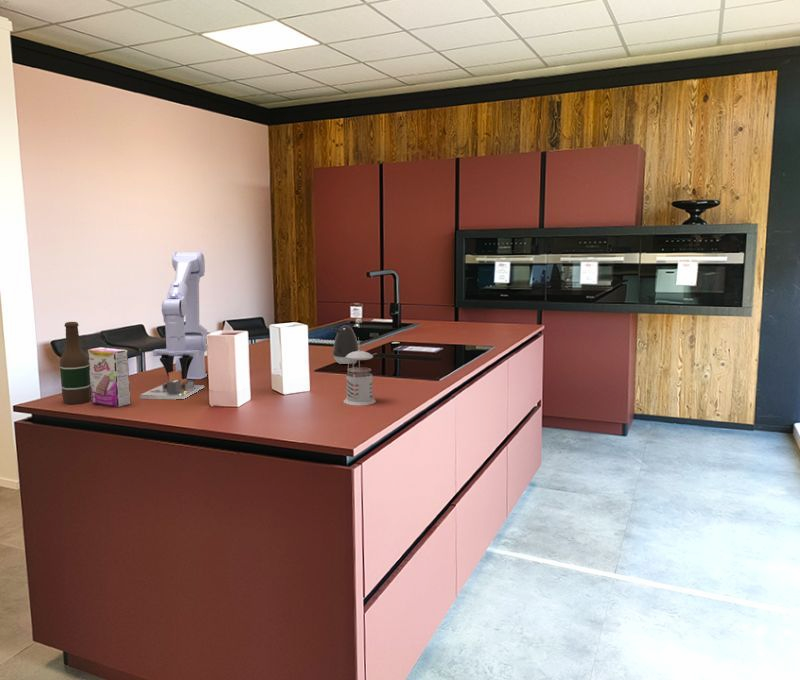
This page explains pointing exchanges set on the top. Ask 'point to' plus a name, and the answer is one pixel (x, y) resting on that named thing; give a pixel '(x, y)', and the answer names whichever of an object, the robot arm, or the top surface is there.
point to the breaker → (173, 386)
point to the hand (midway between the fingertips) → (177, 378)
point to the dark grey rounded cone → (344, 344)
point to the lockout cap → (177, 376)
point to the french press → (359, 379)
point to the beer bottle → (74, 369)
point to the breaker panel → (162, 393)
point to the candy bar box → (109, 376)
